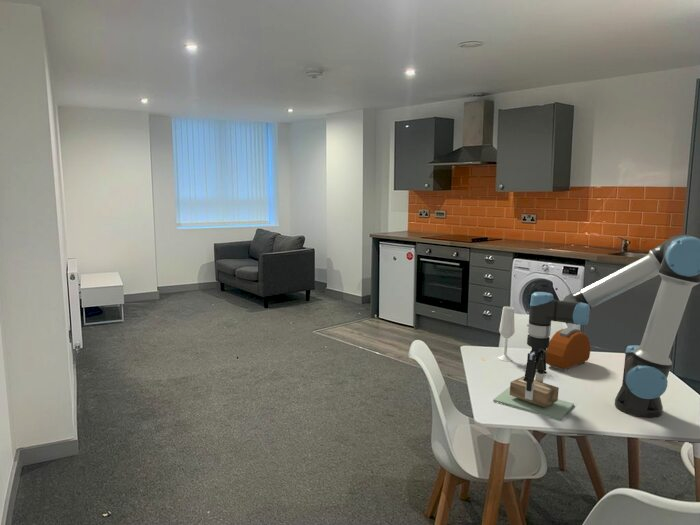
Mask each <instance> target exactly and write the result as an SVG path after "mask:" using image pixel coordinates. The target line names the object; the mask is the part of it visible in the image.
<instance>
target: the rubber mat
mask: <svg viewBox="0 0 700 525" xmlns="http://www.w3.org/2000/svg"><path fill="white" fill-rule="evenodd" d="M493 401H495V402H494V403H497V402H498V404H500V403H502V405H504V404H505V405H504V406H508V407H511V406H512V408H515V409H518V408H519V410H523V411H525V412H526V411H527V412H528V413H529V412H530V413H533V414H537V415H539V416H540V415H541V416H544V417H548V418H551V419H555V420H558V421H562V420H563V419H564V417H565V416H566V415H567V414H568V412H570V410H571V409H572V408H573V407H574V406H575V404H574V402H569V401H566V400H563V399H559V398H558V401H556V402H554V403H553V404H551V405H549V406H547V407H543V406H540V405H537V404H534V403H531V402H528V401H526V400H523V399H520V398H517V397H514V396H511V395H510V386H508V387H507V388H506V389H505V390H504V391H502V392H501V393H499V395H497V396H496V397H494V398H493Z"/></svg>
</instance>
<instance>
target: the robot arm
mask: <svg viewBox="0 0 700 525" xmlns="http://www.w3.org/2000/svg"><path fill="white" fill-rule="evenodd" d="M657 276H660V278H661V282H660V285H659V287H658V291H657V293H656V296H655V300H654V302H653V305H652V309H651V311H650V315H649V317H648V321H647V324H646V326H645V330H644V333H643V336H642V339H641V342H640V345H638V344H637V345H636V344H635V345H633V344H632V345H627V347H626V349H625V352H624V355H625V357H624V363H623V364H624V365H623V366H624V367H623V373H622V374H623V375H622V384H621V386H620V389H619V391H618V393H617V395H616V397H615V399H614V406H615V407H616V409H617V410H619V411H620V412H623V413H624V414H628V415H631V416H635V417H638V418H640V417H641V418H647V419H648V418H649V419H654V418H656V419H657V418H659V417H662V415H663V413H664V412H663V411H664V410H663V409H664V408H663V403H662V399H661V396H663V395H664V393H665V392H666V390H667V388H668V376H669V373H670V370H671V367H672V365H673V361H672V360H671V358H670V357H669V356H670V353H671V351H672V348H673V345H674V343H675V338H676V337H677V334H678V330H679V327H680V325H681V322H682V319H683V316H684V312H685V310H686V306H687V304H688V300H689V299H690V295H691V292H692V289H693V287H695V286H697V285H699V284H700V238H699V237H697V236H694V235H691V234H688V233H680V234H676V235H673V236H671V237H670V238H668V239H666V240H665V241H664V242H662V243H661V244H659V245H657V246H656V247H654V248H652V249H650V250H649V252H648V254H646V255H644V256H643V257H641V258H639V259H637V260H636V261H633V262H631V263H629V264H627V265H625V266H623V267H621V268H619V269H618V270H616V271H614V272H613V273H612V272H611V273H610V274H608V275H607V276H604V277H603V278H601V279H599V280H597V281H595V282H593V283H590V284H589V285H587V286H586V287H583V288H582V289H580V290H578V291H575V292H574V293H570V294H567V295H566V296H565V297H564V298H563V299H562V300H559V299H555V298H554V295H553V293H551V292H545V291H534V292H533V293H531V296H530V303H529V315H528V324H527V325H526V326H527V327H528V328H527V333H528V334H527V340H526V344H527V346H528V347H531V350H530V351H529V352H528V353H527V361H526V365H525V372H524V381H526V389H525V399H529V400H533V394H534V380H536V381H540V382H543V383H544V377H545V376H544V375H546V374H547V363H546V350H547V348H548V347H549V342H550V340H551V337H550V336H551V329H552V328H551V327H552V322H557V323H565V324H571V325H577V326H578V325H584V326H587V325H588V324H589V320H590V310H591V309H592V308H594V307H596V306H599V305H600V304H602V303H604V302H606V301H608V300H611V299H612V298H615V297H616V296H618V295H621V294H622V293H625V292H627V291H629V290H630V289H633V288H635V287H636V286H638V285H640V284H643V283H645V282H647V281H648V280H651V279H653V278H655V277H657Z"/></svg>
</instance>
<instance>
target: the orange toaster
mask: <svg viewBox="0 0 700 525" xmlns="http://www.w3.org/2000/svg"><path fill="white" fill-rule="evenodd" d="M590 342H591V341H590V339H589V337H588V336H587V335H586V334H585V333H583V332H582V331H581V329H578V328H573V327H565V328H561V329H559V330H557V331H556V332H555V333H554V334H553V335H552V336H551V337H550V341H549V347H548V348H547V349H546V365H548V366H549V367H552V368H555V369H559V370H562V371H565V372H566V371H568V369H569V368H572V367H574V366H577V365H580V364H583V365H585V364H586V362H588V361H589V359H590V357H591V356H590V355H591V343H590Z"/></svg>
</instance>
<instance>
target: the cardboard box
mask: <svg viewBox="0 0 700 525" xmlns="http://www.w3.org/2000/svg"><path fill="white" fill-rule="evenodd" d="M524 377H525V375H524V376H521V377H519V378H516V379H514V380H511V381H510V383H509V384H510V385H509V387H510V395H511V396H514V397H517V398H520V399H523V400H526V401H528V402H531V403H534V404H537V405H540V406H543V407H547V406H549V405H551V404H553V403H554V402H556V401H558V399H559V391H560V390H559V388H560V387H558V386H555V385H552V384H549V383H546V382H544V381H543V382H540V381H536V380H535V379H534V394H533V400H529V399H525V389H526V381H524Z"/></svg>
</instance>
